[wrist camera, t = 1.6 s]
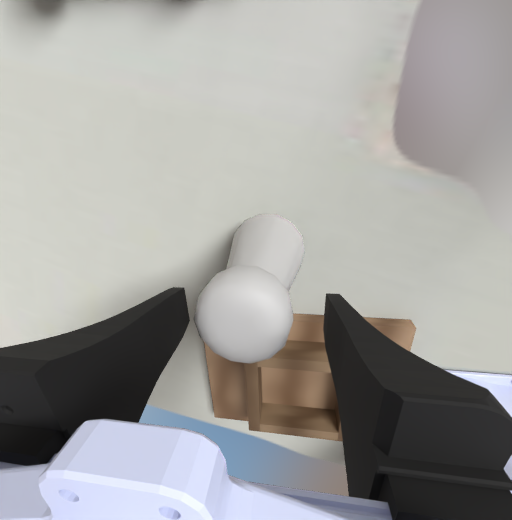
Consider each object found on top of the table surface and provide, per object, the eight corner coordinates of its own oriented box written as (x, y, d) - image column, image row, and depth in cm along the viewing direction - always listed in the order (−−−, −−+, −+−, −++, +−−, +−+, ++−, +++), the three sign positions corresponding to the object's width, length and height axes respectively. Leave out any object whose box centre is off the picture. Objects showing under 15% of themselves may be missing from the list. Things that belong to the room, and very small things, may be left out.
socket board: (410, 319, 23) (430, 348, 20) (383, 426, 29) (395, 462, 25) (204, 308, 26) (190, 332, 22) (217, 408, 32) (208, 438, 28)
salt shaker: (266, 194, 21) (225, 230, 8) (317, 238, 21) (346, 331, 9) (225, 244, 23) (145, 331, 11) (273, 283, 23) (249, 407, 11)
